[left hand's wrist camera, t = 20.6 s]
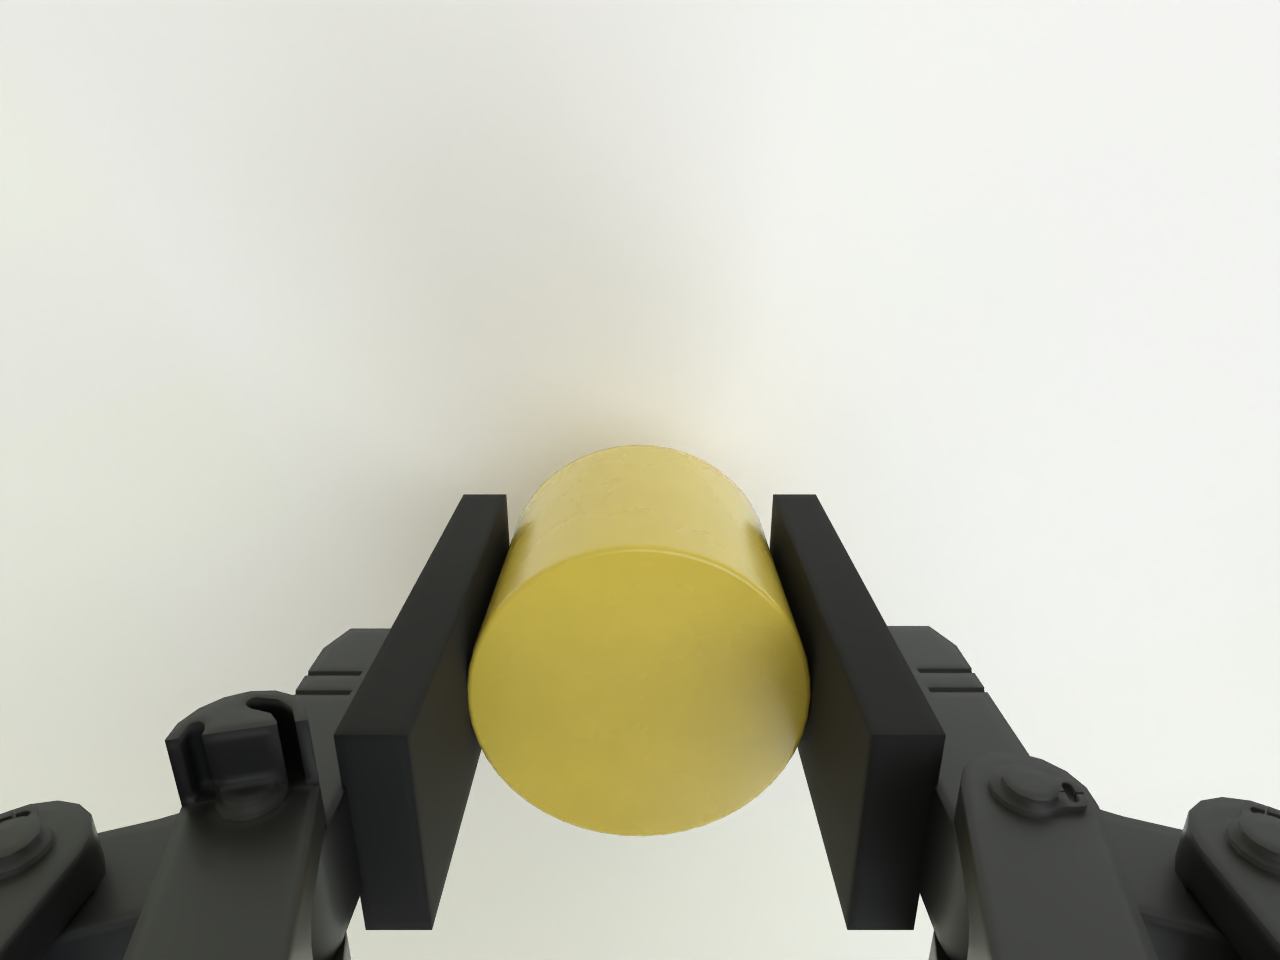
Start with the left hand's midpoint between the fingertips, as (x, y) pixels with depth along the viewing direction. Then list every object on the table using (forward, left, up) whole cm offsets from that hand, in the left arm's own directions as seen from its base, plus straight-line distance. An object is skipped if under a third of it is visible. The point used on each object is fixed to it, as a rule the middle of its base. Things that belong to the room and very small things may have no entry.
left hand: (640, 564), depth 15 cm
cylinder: (0, 0, 0) cm, 0 cm away
